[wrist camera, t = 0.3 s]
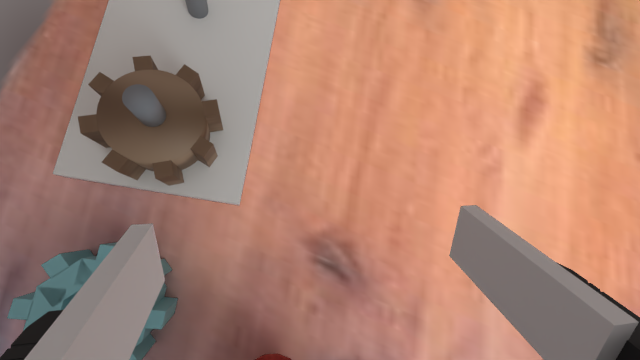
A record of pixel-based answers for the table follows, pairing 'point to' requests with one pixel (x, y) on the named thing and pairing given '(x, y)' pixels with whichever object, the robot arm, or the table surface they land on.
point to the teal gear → (69, 279)
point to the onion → (273, 357)
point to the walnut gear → (161, 141)
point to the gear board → (170, 55)
